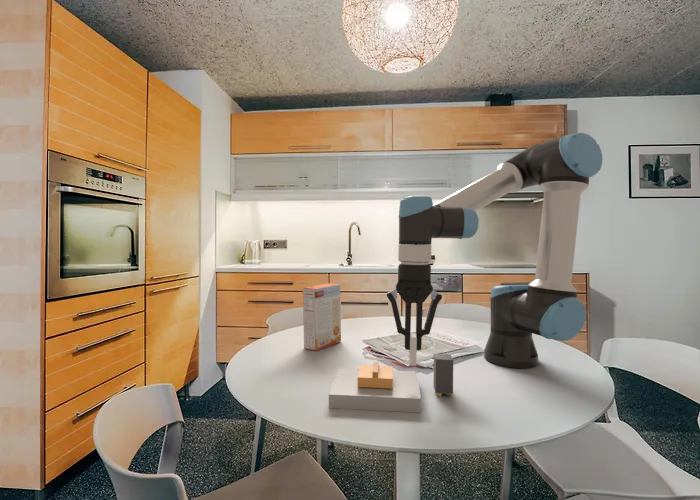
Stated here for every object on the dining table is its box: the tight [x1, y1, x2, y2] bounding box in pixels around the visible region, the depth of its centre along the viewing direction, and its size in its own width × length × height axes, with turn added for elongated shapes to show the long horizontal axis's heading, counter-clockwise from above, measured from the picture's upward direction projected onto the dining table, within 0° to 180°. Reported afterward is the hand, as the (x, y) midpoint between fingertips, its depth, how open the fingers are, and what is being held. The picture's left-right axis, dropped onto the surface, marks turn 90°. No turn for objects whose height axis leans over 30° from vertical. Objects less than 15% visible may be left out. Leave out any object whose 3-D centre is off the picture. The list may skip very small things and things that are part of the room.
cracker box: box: [302, 282, 342, 352], centre depth 126 cm, size 14×6×21 cm, turn 144°
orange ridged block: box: [358, 361, 394, 388], centre depth 87 cm, size 8×8×3 cm
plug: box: [433, 353, 454, 397], centre depth 87 cm, size 4×4×9 cm
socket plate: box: [328, 368, 422, 414], centre depth 87 cm, size 20×16×3 cm
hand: (412, 363), depth 85 cm, fingers closed
